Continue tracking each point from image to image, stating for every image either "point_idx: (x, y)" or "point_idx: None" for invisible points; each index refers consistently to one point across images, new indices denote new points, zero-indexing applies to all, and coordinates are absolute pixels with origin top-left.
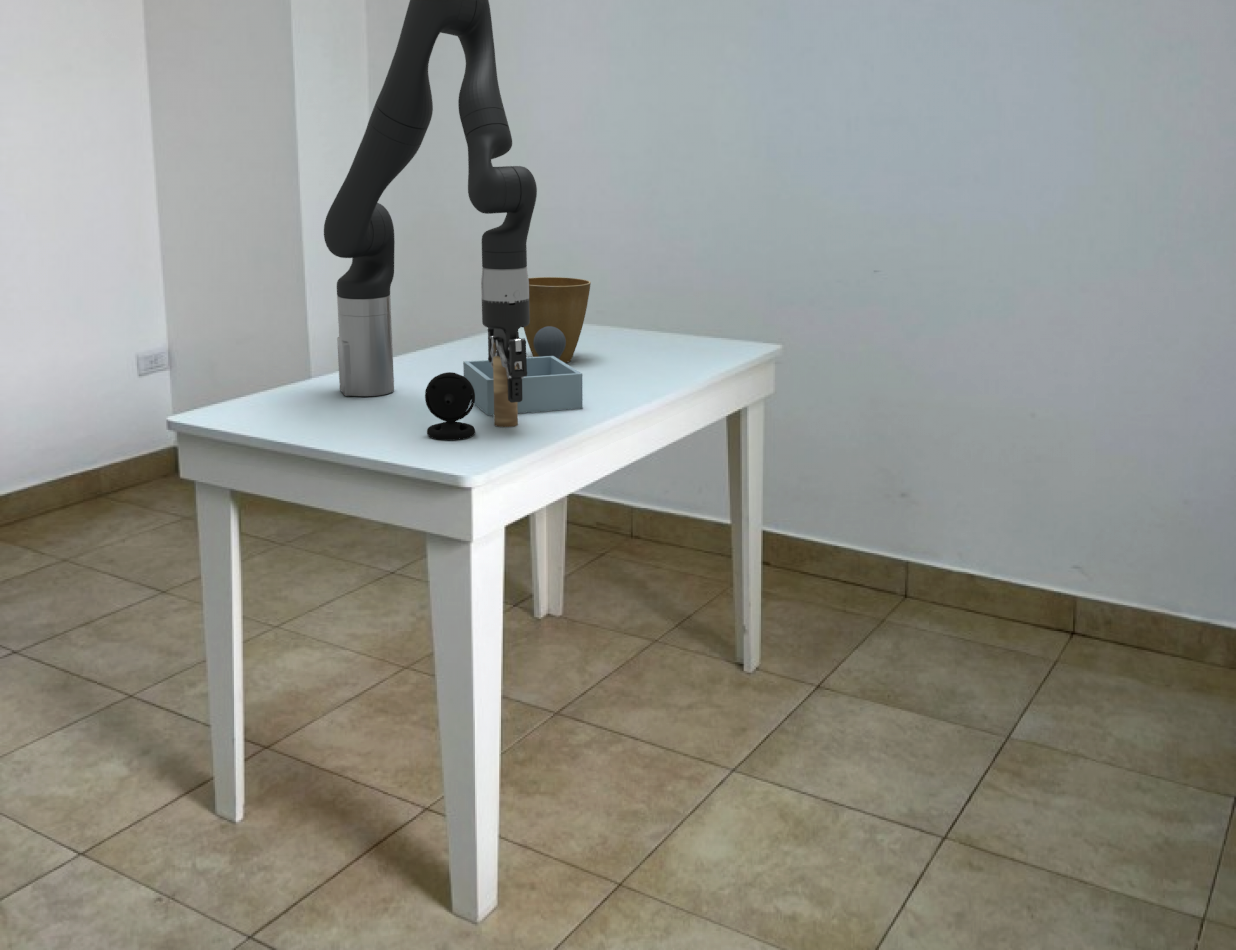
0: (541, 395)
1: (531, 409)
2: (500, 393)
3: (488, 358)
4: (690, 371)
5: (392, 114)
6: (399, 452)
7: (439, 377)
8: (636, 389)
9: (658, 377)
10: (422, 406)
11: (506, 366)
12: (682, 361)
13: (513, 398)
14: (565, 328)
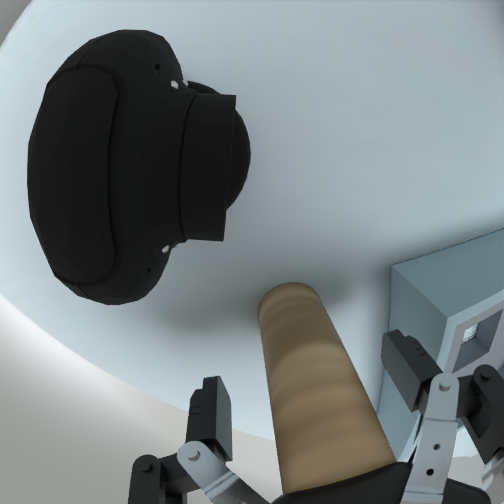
0: (398, 392)
1: None
2: (273, 366)
3: (487, 373)
4: (461, 443)
5: None
6: (32, 60)
7: (40, 106)
8: None
9: (462, 432)
10: (486, 116)
11: (213, 482)
12: None
13: (196, 394)
14: None
